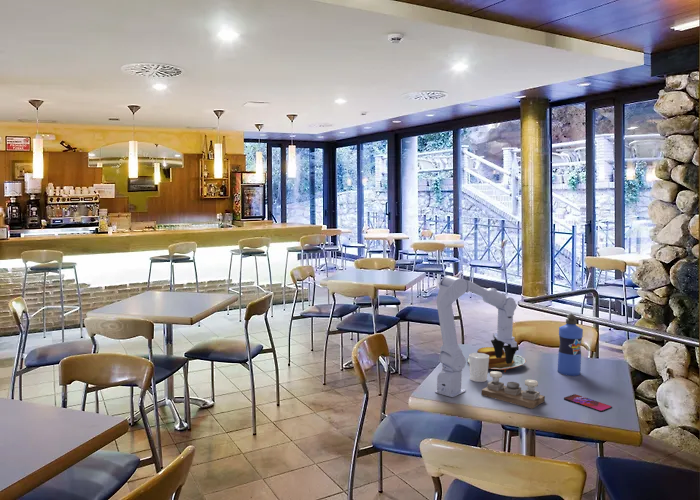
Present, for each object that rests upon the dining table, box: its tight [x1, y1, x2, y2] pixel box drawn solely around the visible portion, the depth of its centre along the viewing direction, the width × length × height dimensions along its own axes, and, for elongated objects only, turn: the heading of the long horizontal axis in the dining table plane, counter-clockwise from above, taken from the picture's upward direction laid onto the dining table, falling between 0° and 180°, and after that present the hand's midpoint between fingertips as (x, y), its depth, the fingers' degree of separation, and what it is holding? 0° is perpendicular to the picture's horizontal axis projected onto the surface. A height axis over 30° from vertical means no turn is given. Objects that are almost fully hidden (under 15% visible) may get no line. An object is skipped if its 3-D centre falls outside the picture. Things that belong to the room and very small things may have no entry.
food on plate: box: [466, 346, 527, 373], centre depth 248 cm, size 25×25×7 cm
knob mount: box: [481, 380, 546, 409], centre depth 206 cm, size 10×20×5 cm, turn 47°
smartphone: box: [563, 393, 613, 413], centre depth 201 cm, size 8×1×15 cm
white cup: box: [468, 352, 489, 383], centre depth 226 cm, size 8×8×10 cm
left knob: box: [489, 370, 503, 382], centre depth 210 cm, size 4×4×3 cm
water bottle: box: [557, 313, 584, 377], centre depth 236 cm, size 9×9×25 cm
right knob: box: [524, 379, 539, 391], centre depth 201 cm, size 4×4×3 cm
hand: (503, 360), depth 220 cm, fingers open, 7 cm apart
